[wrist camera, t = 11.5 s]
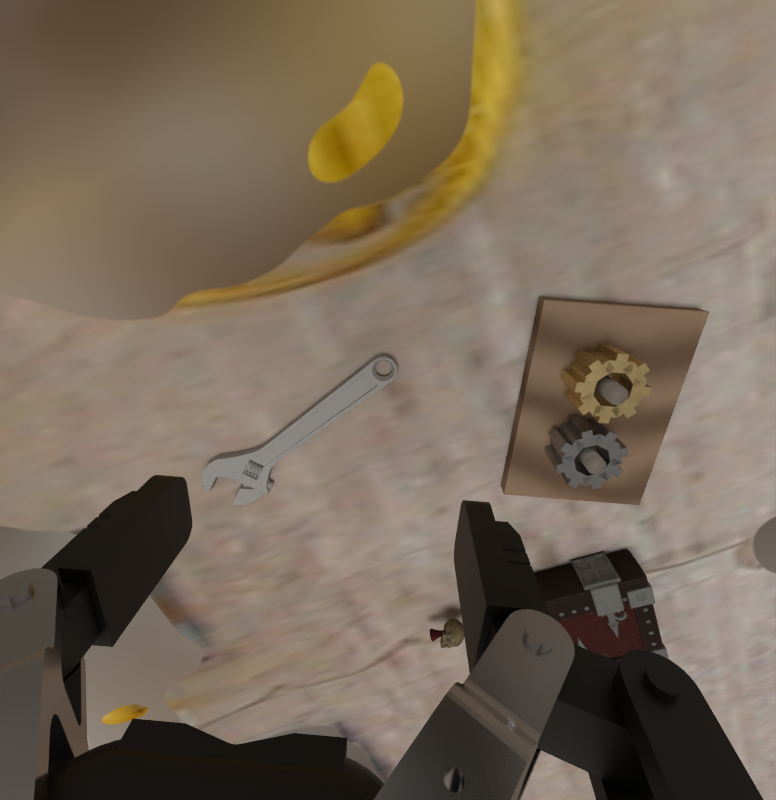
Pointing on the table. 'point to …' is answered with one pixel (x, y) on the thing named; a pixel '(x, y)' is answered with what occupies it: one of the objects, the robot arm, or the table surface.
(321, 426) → the adjustable wrench
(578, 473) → the steel gear
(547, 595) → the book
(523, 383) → the gear board
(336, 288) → the table surface
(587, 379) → the brass gear
